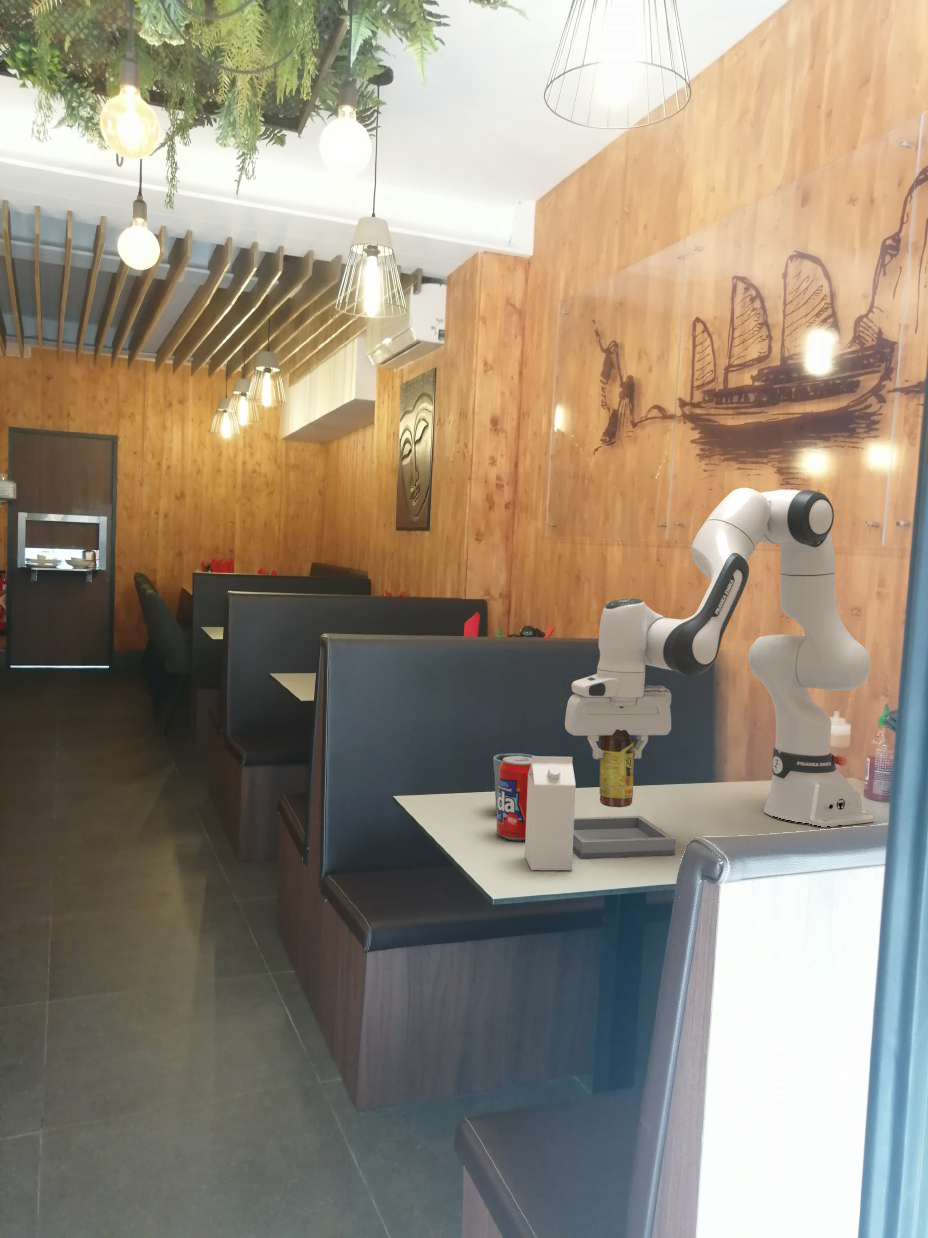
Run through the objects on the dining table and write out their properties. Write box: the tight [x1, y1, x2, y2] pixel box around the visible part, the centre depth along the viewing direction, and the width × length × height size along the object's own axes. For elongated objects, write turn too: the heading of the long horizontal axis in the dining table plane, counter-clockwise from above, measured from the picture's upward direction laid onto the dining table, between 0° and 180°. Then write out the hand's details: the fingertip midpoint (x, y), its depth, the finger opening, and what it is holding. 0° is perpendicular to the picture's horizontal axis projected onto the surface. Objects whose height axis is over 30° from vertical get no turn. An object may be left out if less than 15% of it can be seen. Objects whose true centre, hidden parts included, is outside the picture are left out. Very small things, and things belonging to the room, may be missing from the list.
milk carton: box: [524, 755, 577, 871], centre depth 154 cm, size 7×7×19 cm
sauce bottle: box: [599, 706, 635, 808], centre depth 167 cm, size 7×6×20 cm
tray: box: [573, 815, 676, 860], centre depth 168 cm, size 18×15×3 cm
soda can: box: [496, 756, 532, 842], centre depth 170 cm, size 8×8×15 cm
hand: (616, 758), depth 167 cm, fingers closed on sauce bottle, 6 cm apart
